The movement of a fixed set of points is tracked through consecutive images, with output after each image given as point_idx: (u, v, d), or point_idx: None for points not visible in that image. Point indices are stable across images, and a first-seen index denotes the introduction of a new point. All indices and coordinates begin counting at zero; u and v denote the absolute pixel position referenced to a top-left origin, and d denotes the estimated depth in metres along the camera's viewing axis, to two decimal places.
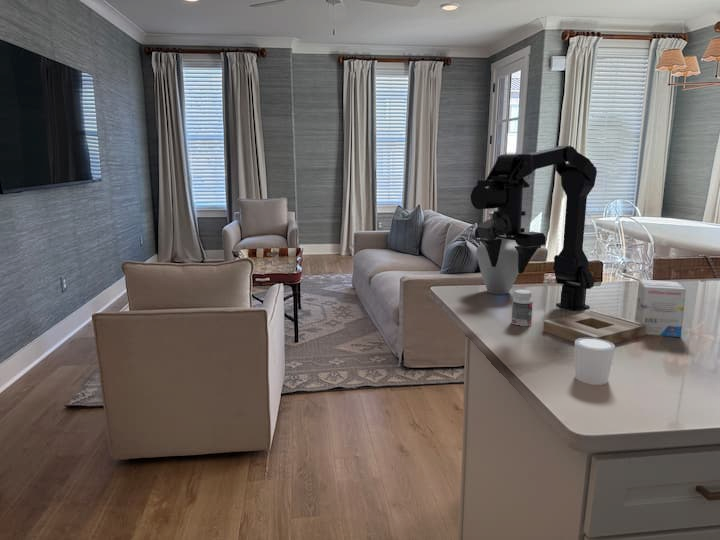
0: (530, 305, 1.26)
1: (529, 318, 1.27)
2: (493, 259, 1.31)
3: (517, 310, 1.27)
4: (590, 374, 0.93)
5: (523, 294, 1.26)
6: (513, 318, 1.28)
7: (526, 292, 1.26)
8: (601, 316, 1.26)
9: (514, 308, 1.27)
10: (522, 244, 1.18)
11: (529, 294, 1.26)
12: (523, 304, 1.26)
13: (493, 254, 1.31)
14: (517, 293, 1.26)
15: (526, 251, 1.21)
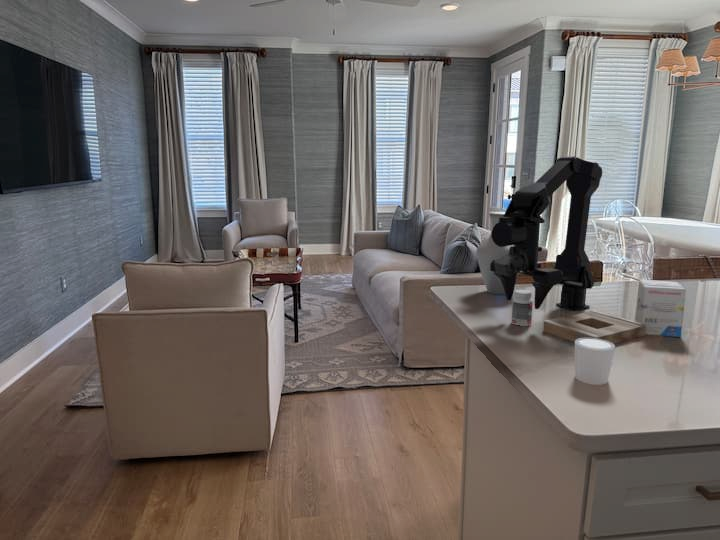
0: (530, 305, 1.26)
1: (529, 318, 1.27)
2: (508, 293, 1.31)
3: (517, 310, 1.27)
4: (590, 374, 0.93)
5: (523, 294, 1.26)
6: (513, 318, 1.28)
7: (526, 292, 1.26)
8: (601, 316, 1.26)
9: (514, 308, 1.27)
10: (540, 281, 1.18)
11: (529, 294, 1.26)
12: (523, 304, 1.26)
13: (508, 288, 1.31)
14: (517, 293, 1.26)
15: (543, 287, 1.22)
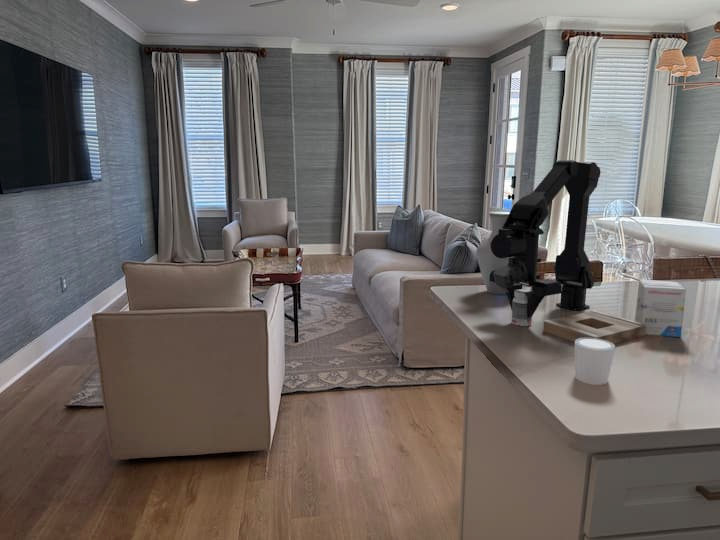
0: None
1: (529, 318, 1.27)
2: None
3: (517, 310, 1.27)
4: (590, 374, 0.93)
5: (523, 294, 1.26)
6: (513, 318, 1.28)
7: None
8: (601, 316, 1.26)
9: (514, 308, 1.27)
10: (539, 293, 1.19)
11: None
12: (523, 304, 1.26)
13: None
14: (517, 293, 1.26)
15: (535, 296, 1.24)
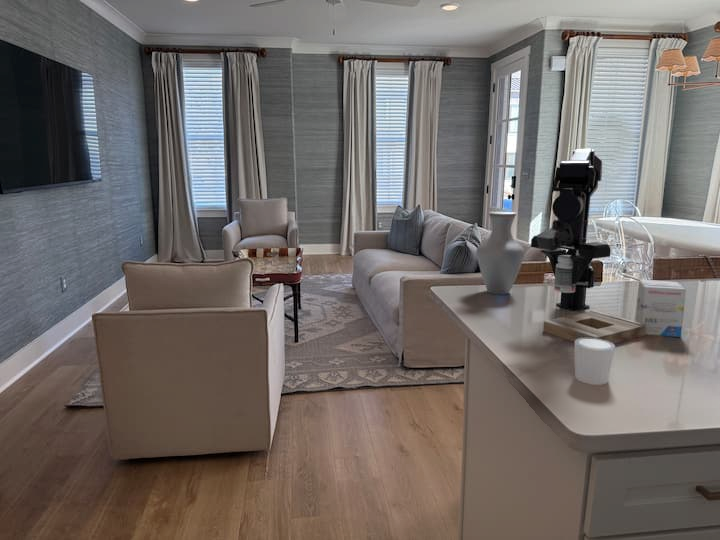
0: None
1: (573, 284, 1.20)
2: None
3: (560, 275, 1.20)
4: (590, 374, 0.93)
5: (568, 259, 1.19)
6: (556, 285, 1.22)
7: None
8: (601, 316, 1.26)
9: (557, 274, 1.21)
10: (586, 255, 1.12)
11: None
12: (567, 269, 1.19)
13: None
14: (561, 258, 1.20)
15: (581, 261, 1.18)
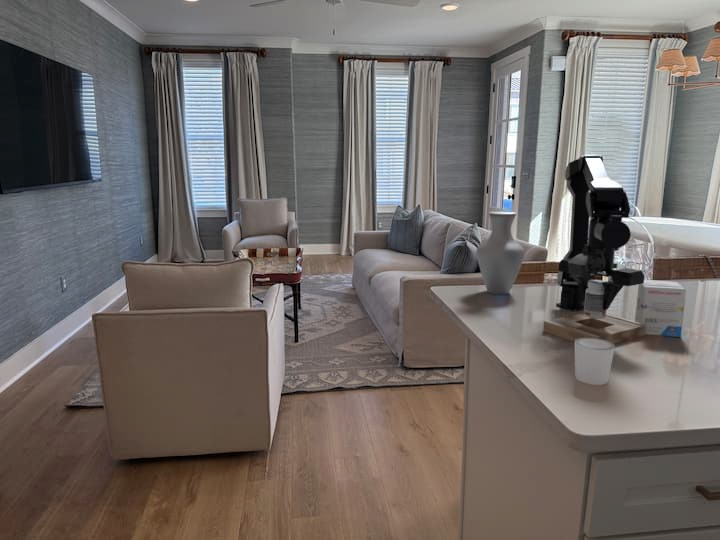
0: None
1: (604, 310, 1.18)
2: None
3: (591, 301, 1.18)
4: (590, 374, 0.93)
5: (599, 284, 1.17)
6: (586, 310, 1.20)
7: (601, 282, 1.18)
8: None
9: (588, 299, 1.19)
10: (620, 283, 1.10)
11: None
12: (598, 295, 1.17)
13: None
14: (592, 283, 1.18)
15: (613, 287, 1.16)
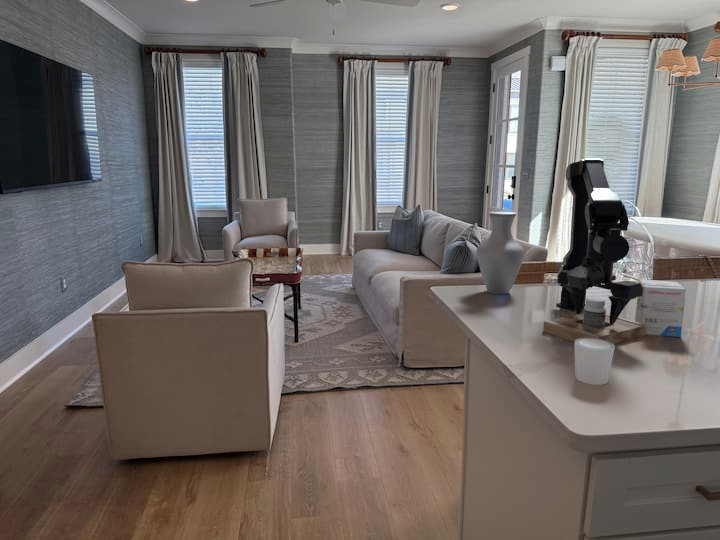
0: (604, 314, 1.18)
1: None
2: (578, 306, 1.24)
3: (589, 319, 1.19)
4: (590, 374, 0.93)
5: (597, 302, 1.18)
6: None
7: (600, 300, 1.19)
8: None
9: (586, 317, 1.20)
10: (619, 295, 1.11)
11: (603, 302, 1.18)
12: (597, 313, 1.18)
13: (578, 301, 1.24)
14: (590, 301, 1.19)
15: (619, 301, 1.15)
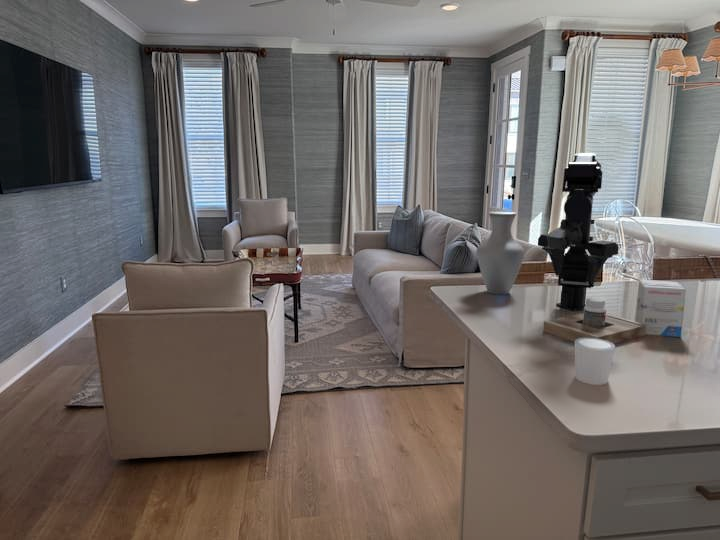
0: (604, 314, 1.18)
1: None
2: (557, 267, 1.29)
3: (589, 319, 1.19)
4: (590, 374, 0.93)
5: (597, 302, 1.18)
6: None
7: (600, 300, 1.19)
8: None
9: (586, 317, 1.20)
10: (596, 254, 1.16)
11: (603, 302, 1.18)
12: (597, 313, 1.18)
13: (557, 262, 1.29)
14: (590, 301, 1.19)
15: (597, 260, 1.20)
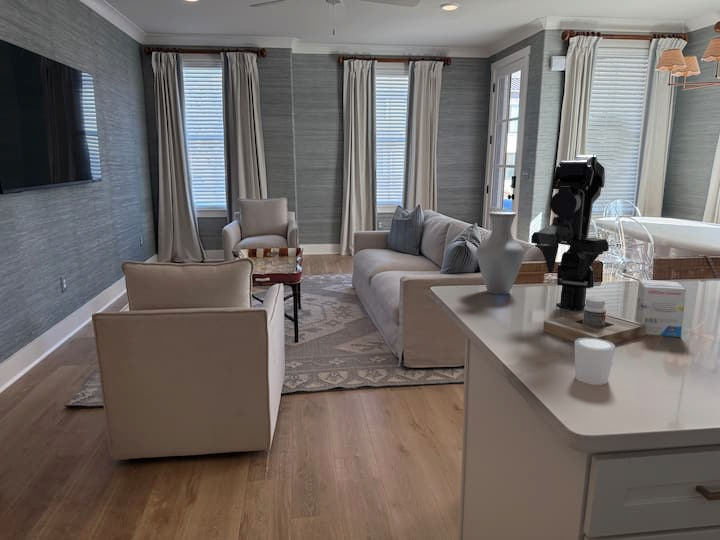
0: (604, 314, 1.18)
1: None
2: (550, 265, 1.31)
3: (589, 319, 1.19)
4: (590, 374, 0.93)
5: (597, 302, 1.18)
6: None
7: (599, 300, 1.19)
8: None
9: (586, 317, 1.20)
10: (586, 250, 1.18)
11: (603, 302, 1.18)
12: (597, 313, 1.18)
13: (550, 260, 1.31)
14: (590, 301, 1.19)
15: (588, 257, 1.22)
